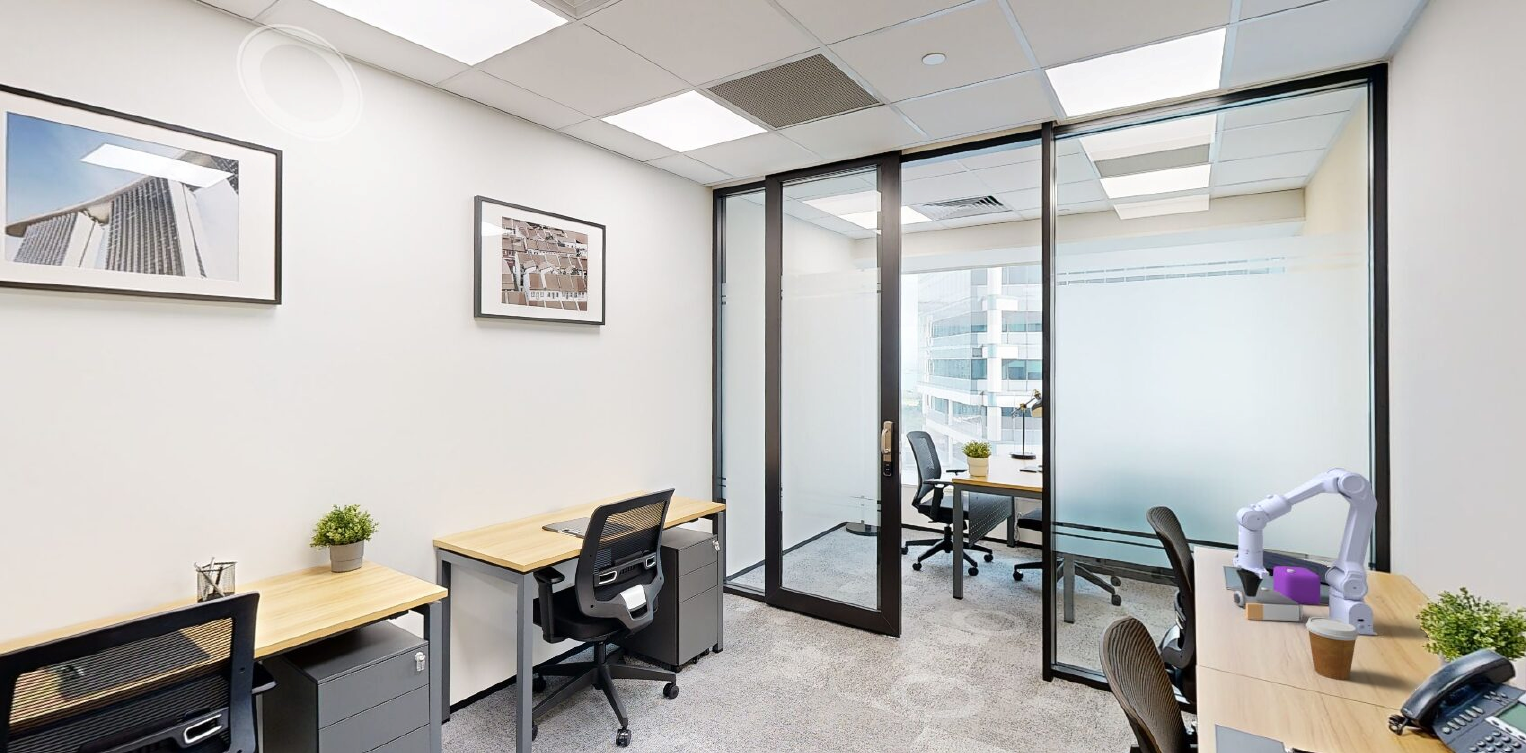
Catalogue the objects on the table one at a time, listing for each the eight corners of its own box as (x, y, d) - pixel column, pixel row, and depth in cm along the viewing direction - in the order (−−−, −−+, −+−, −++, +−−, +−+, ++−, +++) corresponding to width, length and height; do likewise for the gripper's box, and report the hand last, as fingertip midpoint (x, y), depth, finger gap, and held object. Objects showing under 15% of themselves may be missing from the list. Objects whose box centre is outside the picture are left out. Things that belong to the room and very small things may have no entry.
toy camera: (1296, 591, 211) (1295, 560, 211) (1328, 606, 197) (1328, 573, 197) (1260, 590, 212) (1260, 560, 212) (1290, 605, 198) (1290, 573, 198)
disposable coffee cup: (1305, 661, 162) (1305, 613, 161) (1357, 672, 156) (1357, 622, 155) (1306, 675, 154) (1305, 625, 154) (1360, 687, 148) (1360, 635, 148)
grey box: (1303, 622, 185) (1303, 603, 185) (1258, 620, 187) (1258, 601, 187) (1271, 603, 200) (1271, 585, 200) (1229, 601, 202) (1229, 583, 202)
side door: (1297, 620, 186) (1297, 605, 186) (1299, 621, 185) (1299, 606, 185) (1246, 618, 188) (1246, 603, 188) (1247, 619, 187) (1247, 604, 187)
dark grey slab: (1241, 552, 250) (1242, 543, 250) (1344, 577, 230) (1346, 567, 230) (1232, 567, 232) (1234, 557, 232) (1344, 596, 212) (1345, 585, 212)
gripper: (1222, 542, 197) (1222, 586, 197) (1249, 556, 183) (1249, 604, 183) (1247, 543, 196) (1247, 587, 196) (1277, 557, 181) (1277, 605, 182)
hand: (1250, 595), depth 189 cm, fingers closed
